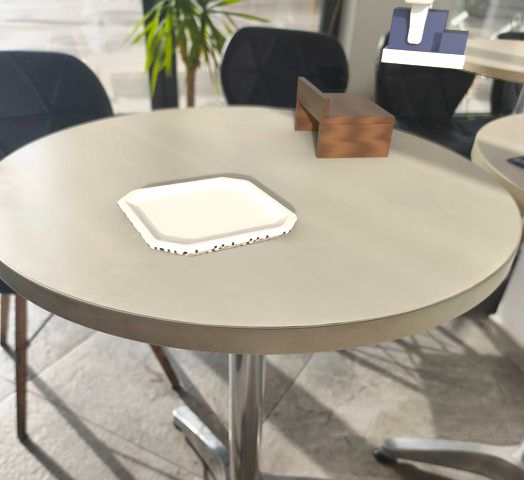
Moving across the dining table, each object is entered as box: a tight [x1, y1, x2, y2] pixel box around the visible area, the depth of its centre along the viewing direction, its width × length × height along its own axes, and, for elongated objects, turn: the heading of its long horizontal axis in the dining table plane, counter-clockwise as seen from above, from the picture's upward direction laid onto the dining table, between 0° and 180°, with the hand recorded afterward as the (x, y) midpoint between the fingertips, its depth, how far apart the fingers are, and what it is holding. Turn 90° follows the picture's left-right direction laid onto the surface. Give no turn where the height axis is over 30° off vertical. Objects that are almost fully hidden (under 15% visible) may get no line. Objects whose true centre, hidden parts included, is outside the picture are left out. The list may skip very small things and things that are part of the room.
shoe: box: [381, 6, 470, 70], centre depth 68 cm, size 11×5×6 cm, turn 71°
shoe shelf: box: [293, 76, 396, 159], centre depth 99 cm, size 14×20×10 cm
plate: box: [117, 176, 298, 257], centre depth 68 cm, size 21×21×2 cm
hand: (416, 40), depth 69 cm, fingers closed on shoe, 4 cm apart
